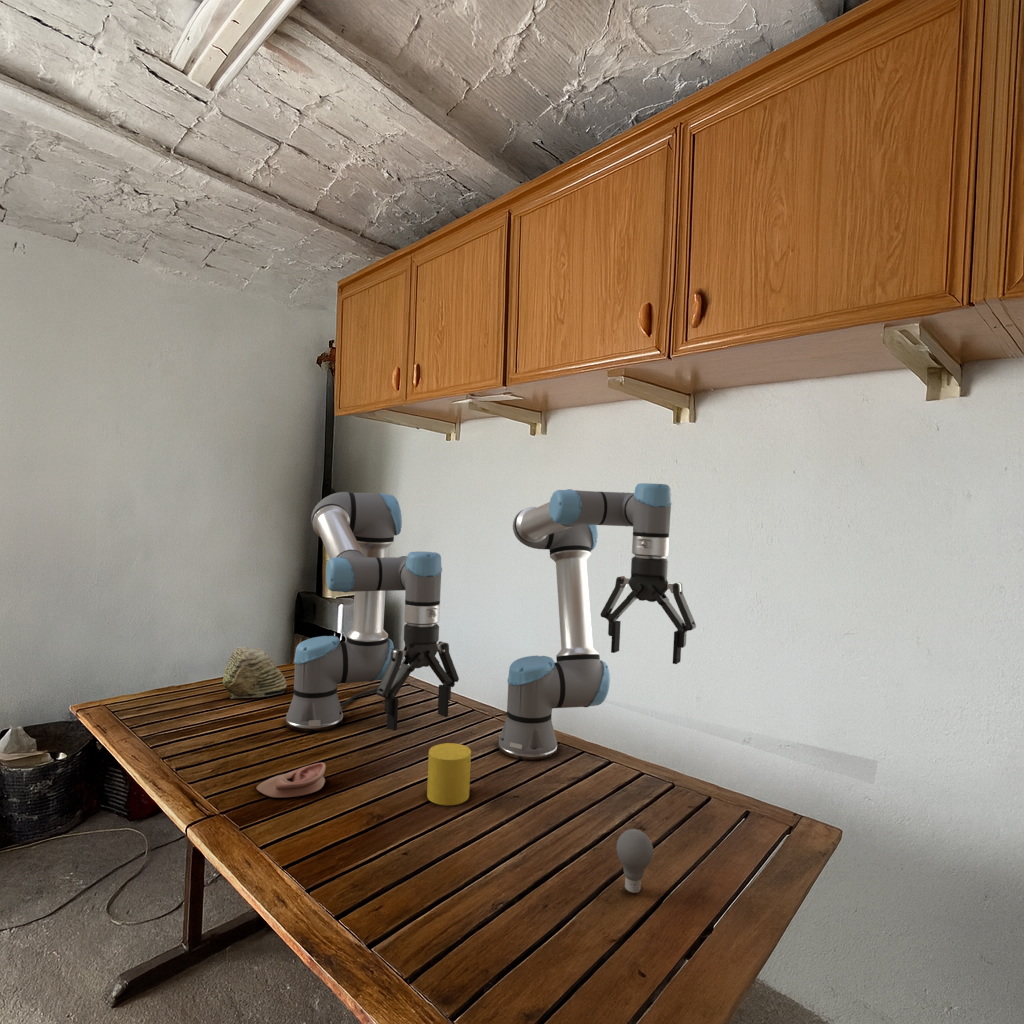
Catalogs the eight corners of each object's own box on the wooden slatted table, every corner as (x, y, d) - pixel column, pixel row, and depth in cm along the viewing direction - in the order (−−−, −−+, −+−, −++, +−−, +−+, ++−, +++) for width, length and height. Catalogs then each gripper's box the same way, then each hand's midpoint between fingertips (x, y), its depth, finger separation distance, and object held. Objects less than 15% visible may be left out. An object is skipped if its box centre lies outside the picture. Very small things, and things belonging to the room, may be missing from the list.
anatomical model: (248, 775, 133) (279, 754, 144) (247, 794, 133) (278, 771, 144) (306, 783, 130) (332, 761, 142) (305, 802, 130) (332, 779, 142)
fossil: (218, 695, 195) (220, 647, 195) (278, 685, 208) (279, 640, 207) (228, 703, 189) (230, 653, 188) (289, 692, 201) (290, 645, 201)
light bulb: (610, 879, 108) (613, 822, 108) (644, 879, 109) (647, 822, 109) (619, 902, 102) (622, 840, 102) (655, 901, 103) (658, 840, 103)
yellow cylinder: (452, 782, 143) (454, 740, 143) (477, 797, 137) (479, 753, 136) (418, 793, 137) (420, 749, 137) (443, 809, 130) (445, 763, 130)
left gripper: (382, 633, 125) (378, 740, 125) (476, 620, 143) (472, 714, 143) (361, 627, 130) (358, 729, 131) (454, 615, 148) (451, 706, 148)
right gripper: (588, 552, 137) (583, 650, 137) (704, 563, 123) (698, 671, 124) (603, 551, 143) (598, 644, 144) (714, 561, 130) (709, 664, 130)
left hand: (418, 721), depth 137 cm, fingers open, 13 cm apart
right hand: (644, 657), depth 134 cm, fingers open, 13 cm apart
